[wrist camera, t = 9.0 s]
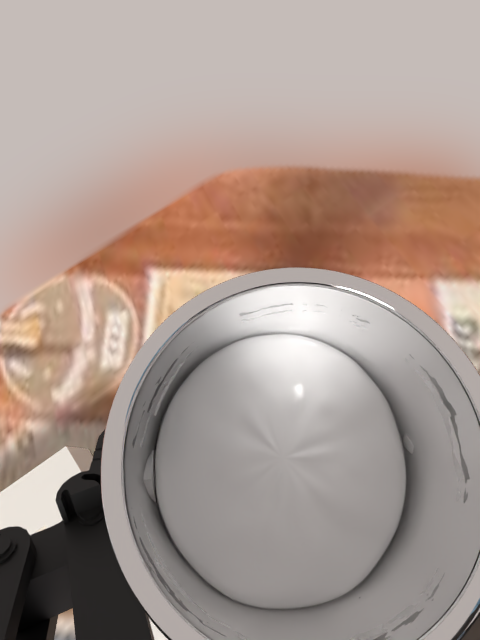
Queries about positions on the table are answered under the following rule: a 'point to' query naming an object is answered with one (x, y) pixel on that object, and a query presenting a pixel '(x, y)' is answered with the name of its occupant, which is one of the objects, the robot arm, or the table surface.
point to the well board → (45, 495)
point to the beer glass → (298, 466)
